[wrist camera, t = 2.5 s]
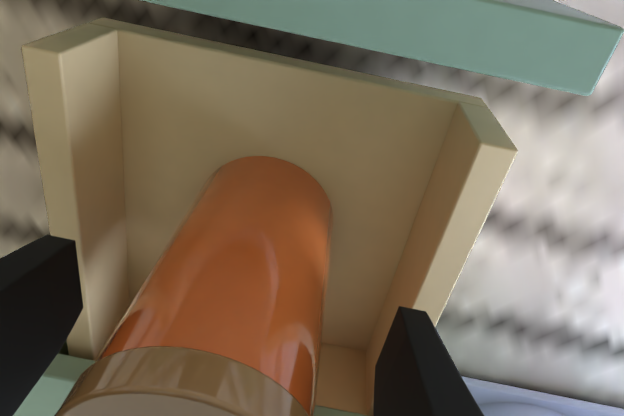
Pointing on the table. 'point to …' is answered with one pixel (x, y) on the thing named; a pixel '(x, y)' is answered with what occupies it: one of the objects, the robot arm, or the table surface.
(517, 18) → the drawer
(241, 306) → the spice jar
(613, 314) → the table surface
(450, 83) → the table surface
